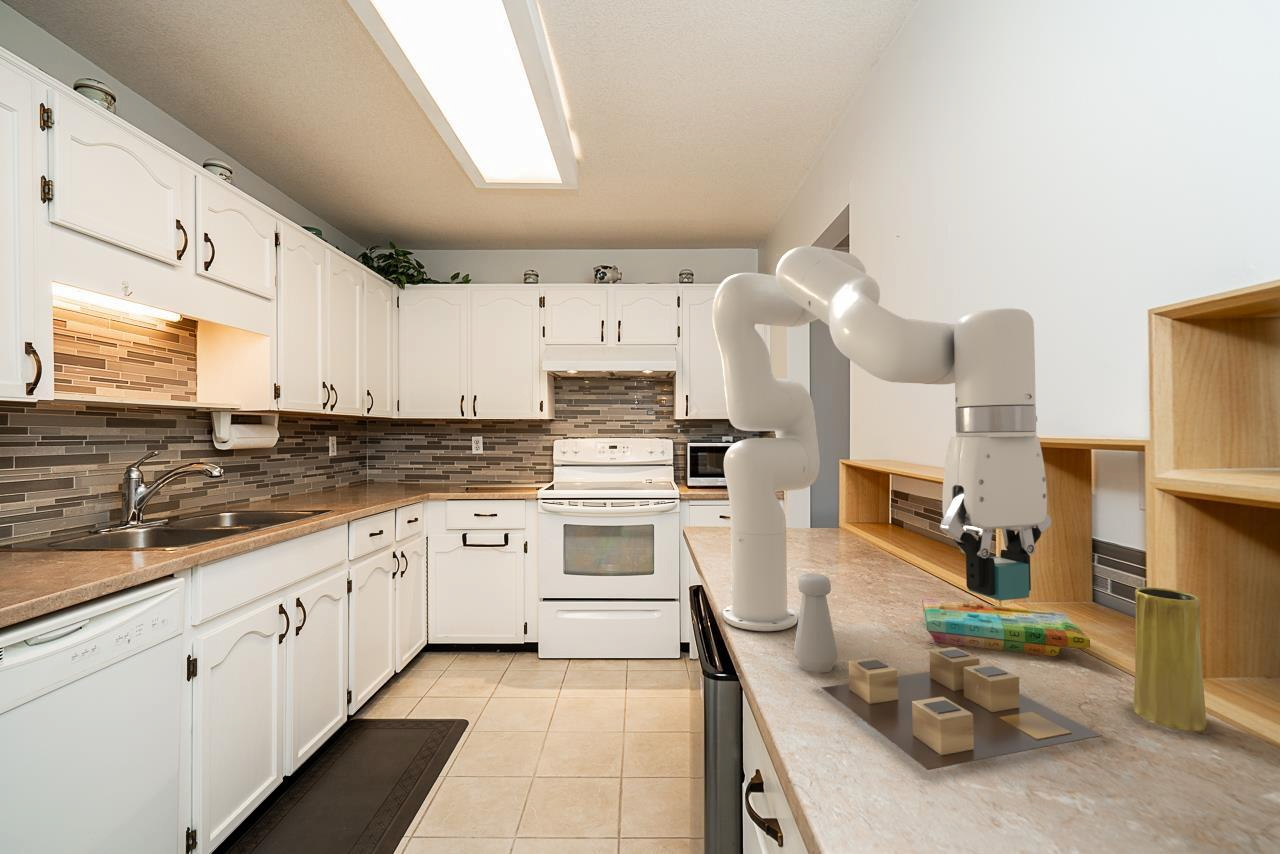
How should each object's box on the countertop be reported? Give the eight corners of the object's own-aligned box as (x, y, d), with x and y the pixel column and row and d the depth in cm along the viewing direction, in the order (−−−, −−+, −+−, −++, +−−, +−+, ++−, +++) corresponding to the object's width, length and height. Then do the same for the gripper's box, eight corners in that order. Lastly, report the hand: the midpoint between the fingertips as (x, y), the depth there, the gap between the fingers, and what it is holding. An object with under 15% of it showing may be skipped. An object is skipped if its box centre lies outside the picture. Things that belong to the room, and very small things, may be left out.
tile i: (929, 677, 74) (929, 649, 74) (954, 674, 75) (954, 645, 75) (953, 691, 70) (953, 661, 70) (980, 687, 71) (979, 657, 71)
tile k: (912, 735, 60) (911, 700, 60) (943, 729, 61) (943, 695, 61) (941, 755, 56) (940, 718, 56) (974, 749, 57) (973, 712, 57)
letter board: (821, 692, 71) (820, 686, 71) (964, 671, 77) (964, 666, 77) (927, 775, 54) (927, 768, 54) (1102, 741, 59) (1102, 734, 59)
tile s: (968, 590, 64) (968, 557, 64) (997, 587, 65) (996, 555, 65) (999, 601, 60) (998, 565, 60) (1029, 597, 61) (1029, 563, 61)
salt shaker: (840, 665, 79) (839, 572, 79) (835, 682, 74) (834, 582, 74) (797, 658, 82) (796, 568, 82) (790, 674, 76) (789, 578, 77)
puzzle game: (921, 594, 96) (1064, 607, 88) (922, 622, 96) (1065, 638, 88) (926, 615, 85) (1089, 632, 78) (927, 646, 85) (1090, 667, 78)
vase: (1215, 742, 59) (1213, 604, 59) (1138, 726, 62) (1136, 596, 62) (1197, 716, 64) (1195, 590, 64) (1127, 703, 67) (1125, 583, 67)
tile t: (963, 696, 68) (963, 666, 68) (990, 692, 69) (989, 662, 69) (991, 712, 64) (991, 680, 64) (1019, 707, 65) (1019, 675, 65)
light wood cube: (849, 689, 71) (848, 659, 71) (876, 685, 72) (876, 656, 72) (869, 704, 67) (869, 672, 67) (898, 699, 68) (898, 668, 68)
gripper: (1024, 423, 68) (1028, 576, 68) (906, 425, 64) (909, 587, 64) (1087, 422, 61) (1091, 593, 61) (958, 424, 57) (962, 607, 56)
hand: (998, 588), depth 62 cm, fingers closed on tile s, 4 cm apart
